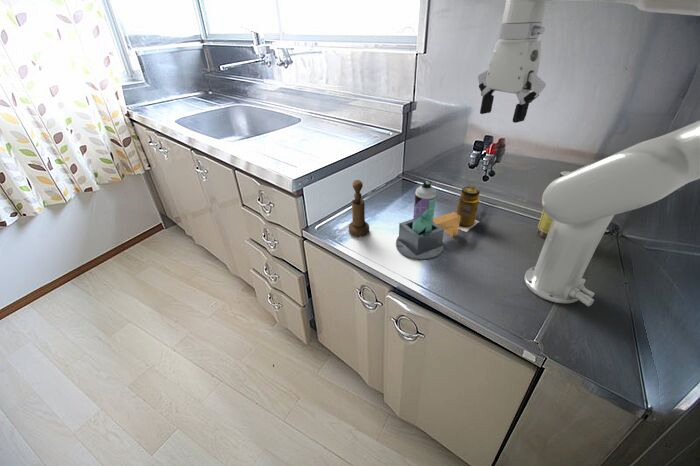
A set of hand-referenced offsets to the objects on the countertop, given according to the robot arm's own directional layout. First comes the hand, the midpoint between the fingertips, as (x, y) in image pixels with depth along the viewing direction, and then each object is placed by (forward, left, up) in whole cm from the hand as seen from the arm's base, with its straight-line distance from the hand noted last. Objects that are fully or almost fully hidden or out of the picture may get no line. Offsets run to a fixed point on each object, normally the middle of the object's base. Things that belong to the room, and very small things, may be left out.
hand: (500, 117), depth 76 cm
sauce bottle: (-9, -21, -36) cm, 43 cm away
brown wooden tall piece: (+22, +28, -36) cm, 51 cm away
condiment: (+9, -4, -37) cm, 38 cm away
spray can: (+6, +16, -36) cm, 39 cm away
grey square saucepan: (+6, +13, -36) cm, 39 cm away
